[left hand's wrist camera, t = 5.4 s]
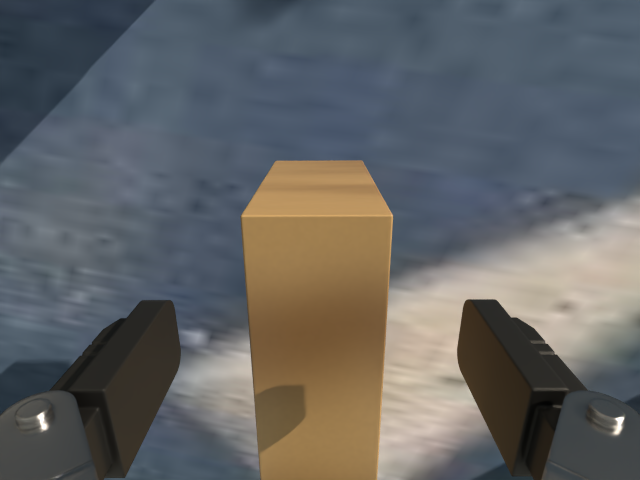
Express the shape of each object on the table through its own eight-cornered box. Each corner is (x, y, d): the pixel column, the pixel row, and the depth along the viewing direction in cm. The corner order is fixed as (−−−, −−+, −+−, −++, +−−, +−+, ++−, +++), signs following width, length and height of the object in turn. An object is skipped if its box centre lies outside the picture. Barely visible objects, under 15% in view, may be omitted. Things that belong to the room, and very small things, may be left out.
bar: (275, 160, 21) (239, 215, 12) (362, 160, 21) (393, 215, 12) (290, 510, 30) (276, 693, 21) (351, 511, 30) (364, 693, 21)
